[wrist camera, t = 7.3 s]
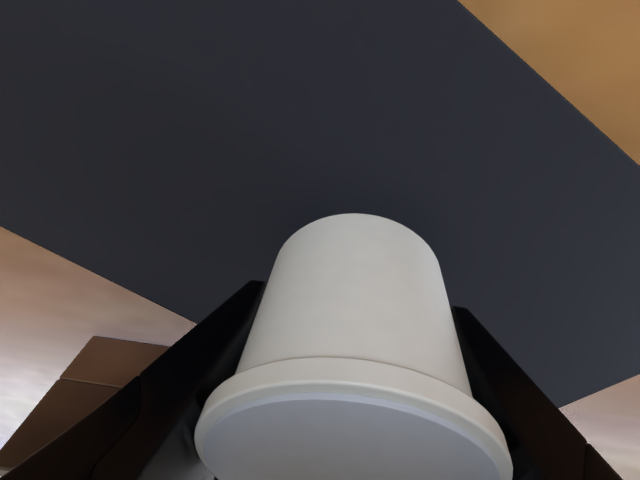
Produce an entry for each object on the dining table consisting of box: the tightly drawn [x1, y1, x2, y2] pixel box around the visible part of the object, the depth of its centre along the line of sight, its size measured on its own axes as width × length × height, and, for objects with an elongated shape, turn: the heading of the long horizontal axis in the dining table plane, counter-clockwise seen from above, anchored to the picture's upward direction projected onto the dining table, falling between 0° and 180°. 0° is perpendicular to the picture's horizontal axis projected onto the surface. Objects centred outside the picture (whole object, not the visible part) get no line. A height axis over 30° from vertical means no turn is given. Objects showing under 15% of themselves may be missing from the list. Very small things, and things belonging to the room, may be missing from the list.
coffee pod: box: [194, 213, 513, 480], centre depth 7 cm, size 5×5×5 cm
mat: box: [0, 0, 640, 408], centre depth 10 cm, size 20×12×1 cm, turn 57°
